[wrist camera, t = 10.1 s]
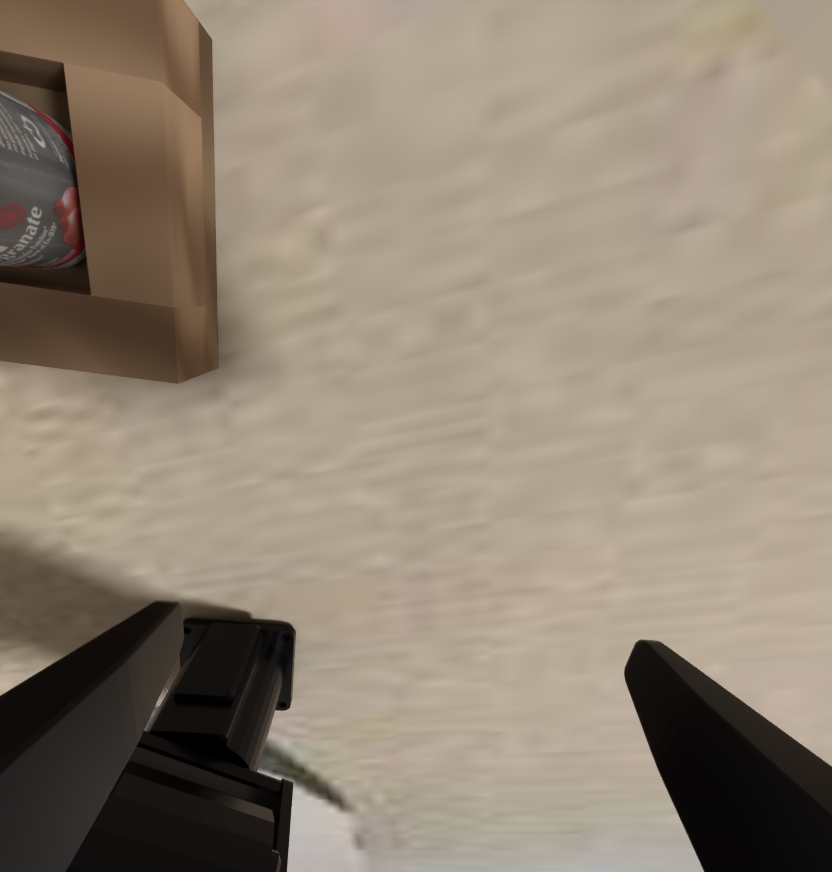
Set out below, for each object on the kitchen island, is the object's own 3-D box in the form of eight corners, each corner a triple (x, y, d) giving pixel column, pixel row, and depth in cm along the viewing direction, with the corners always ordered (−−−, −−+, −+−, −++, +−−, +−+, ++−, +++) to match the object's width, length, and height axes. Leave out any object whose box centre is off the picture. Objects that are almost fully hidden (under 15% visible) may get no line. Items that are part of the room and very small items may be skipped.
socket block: (218, 367, 18) (177, 383, 15) (-68, 330, 17) (-181, 337, 14) (211, 38, 14) (155, -41, 11) (-160, -38, 13) (-350, -152, 10)
